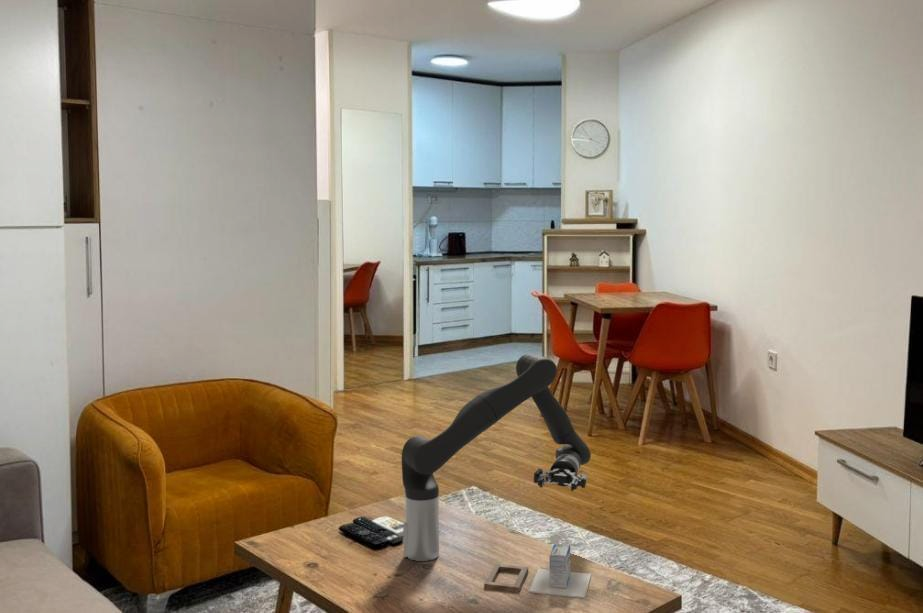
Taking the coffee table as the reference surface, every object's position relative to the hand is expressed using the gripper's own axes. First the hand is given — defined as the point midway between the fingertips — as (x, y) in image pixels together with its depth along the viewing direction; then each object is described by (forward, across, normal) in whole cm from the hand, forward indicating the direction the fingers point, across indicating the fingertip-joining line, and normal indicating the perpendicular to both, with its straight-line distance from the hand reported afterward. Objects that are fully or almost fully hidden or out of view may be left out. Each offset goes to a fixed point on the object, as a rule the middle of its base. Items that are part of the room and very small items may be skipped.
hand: (556, 485), depth 234 cm
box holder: (+13, -10, +22) cm, 28 cm away
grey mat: (+12, +4, +22) cm, 25 cm away
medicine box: (+12, +3, +22) cm, 25 cm away
